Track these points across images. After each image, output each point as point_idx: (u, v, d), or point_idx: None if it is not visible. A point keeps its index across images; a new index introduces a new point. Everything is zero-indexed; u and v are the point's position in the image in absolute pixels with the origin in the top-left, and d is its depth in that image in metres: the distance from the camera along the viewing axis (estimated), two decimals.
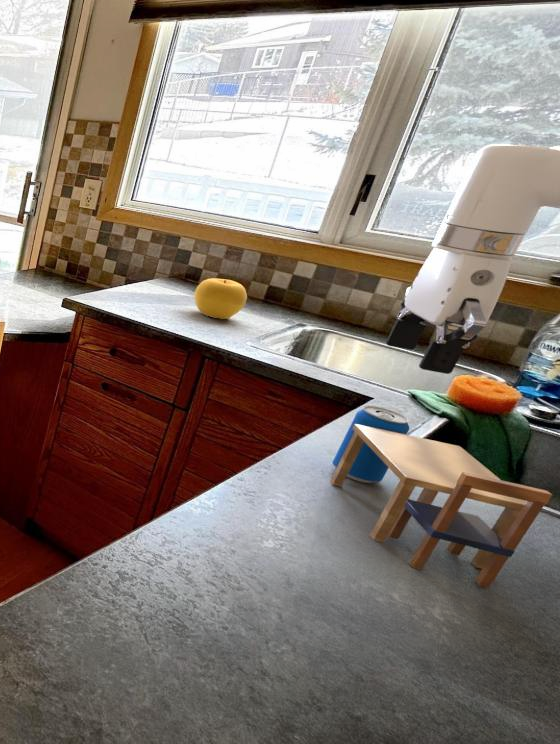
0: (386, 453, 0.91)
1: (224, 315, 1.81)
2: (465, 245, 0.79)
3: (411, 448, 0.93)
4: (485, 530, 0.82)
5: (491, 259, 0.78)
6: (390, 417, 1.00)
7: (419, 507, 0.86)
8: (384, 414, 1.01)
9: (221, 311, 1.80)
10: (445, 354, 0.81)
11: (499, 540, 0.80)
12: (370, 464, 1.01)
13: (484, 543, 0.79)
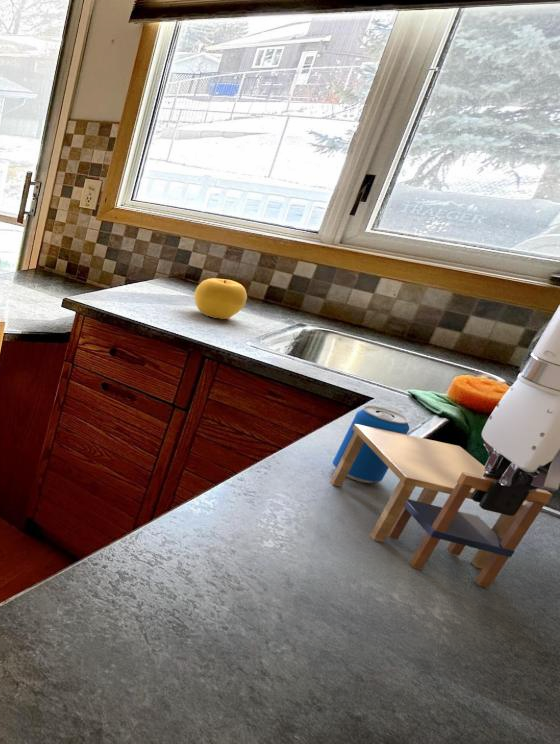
0: (386, 453, 0.91)
1: (224, 315, 1.81)
2: None
3: (411, 448, 0.93)
4: (485, 530, 0.82)
5: None
6: (390, 417, 1.00)
7: (419, 507, 0.86)
8: (384, 414, 1.01)
9: (221, 311, 1.80)
10: (510, 497, 0.76)
11: (499, 540, 0.80)
12: (370, 464, 1.01)
13: (484, 543, 0.79)
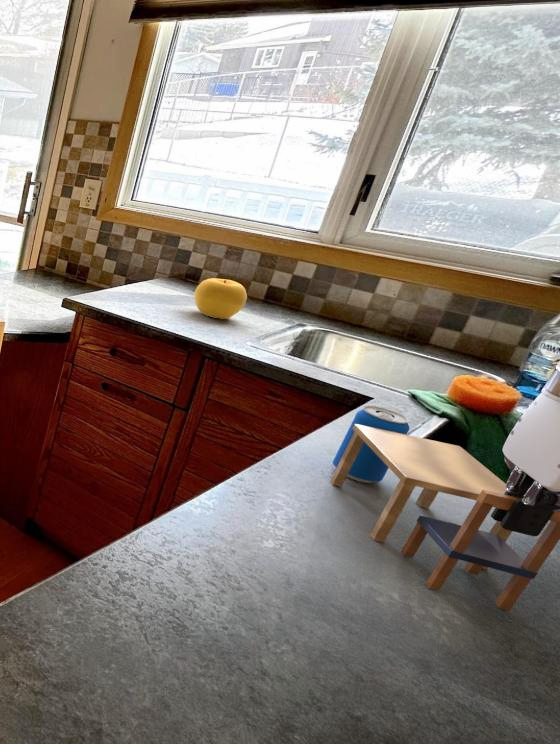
0: (386, 453, 0.91)
1: (224, 315, 1.81)
2: None
3: (411, 448, 0.93)
4: (506, 550, 0.78)
5: None
6: (390, 417, 1.00)
7: (435, 524, 0.82)
8: (384, 414, 1.01)
9: (221, 311, 1.80)
10: (533, 516, 0.72)
11: (521, 561, 0.76)
12: (370, 464, 1.01)
13: (505, 564, 0.76)
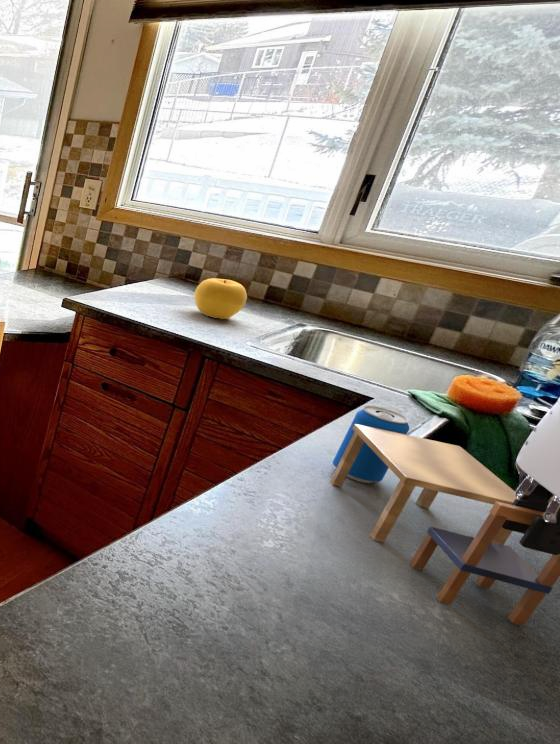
0: (386, 453, 0.91)
1: (224, 315, 1.81)
2: None
3: (411, 448, 0.93)
4: (519, 563, 0.76)
5: None
6: (390, 417, 1.00)
7: (446, 536, 0.80)
8: (384, 414, 1.01)
9: (221, 311, 1.80)
10: (554, 534, 0.69)
11: (535, 575, 0.74)
12: (370, 464, 1.01)
13: (519, 578, 0.73)
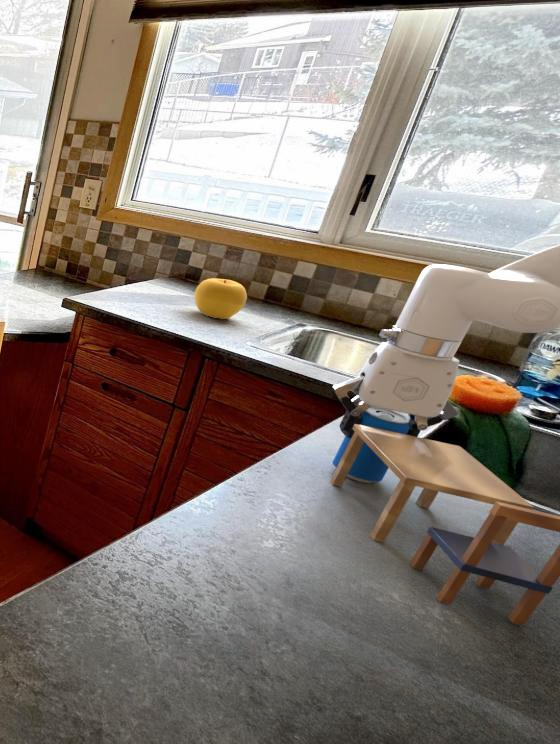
0: (386, 453, 0.91)
1: (224, 315, 1.81)
2: None
3: (411, 448, 0.93)
4: (519, 563, 0.76)
5: (384, 346, 0.98)
6: (390, 417, 1.00)
7: (446, 536, 0.80)
8: (384, 414, 1.01)
9: (221, 311, 1.80)
10: (345, 418, 1.04)
11: (535, 575, 0.74)
12: (370, 464, 1.01)
13: (519, 578, 0.73)
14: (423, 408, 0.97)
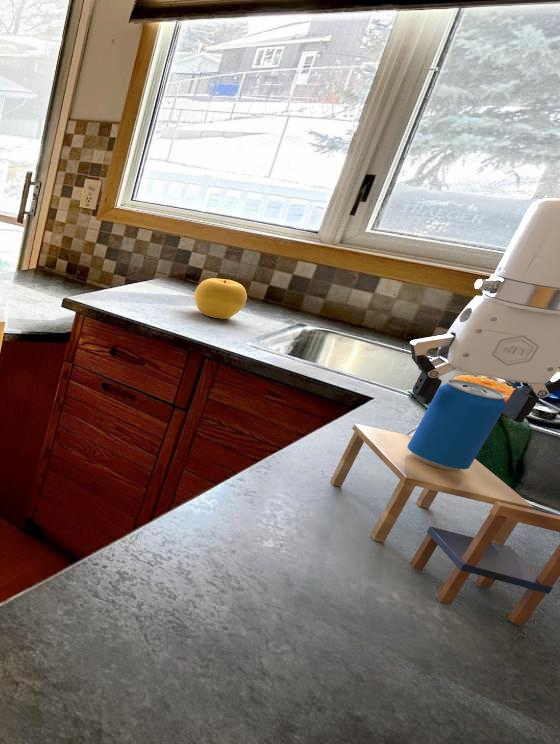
0: (386, 453, 0.91)
1: (224, 315, 1.81)
2: None
3: None
4: (519, 563, 0.76)
5: None
6: (482, 392, 0.84)
7: (446, 536, 0.80)
8: (474, 389, 0.85)
9: (221, 311, 1.80)
10: (420, 381, 0.88)
11: (535, 575, 0.74)
12: (457, 448, 0.85)
13: (519, 578, 0.73)
14: (530, 373, 0.80)
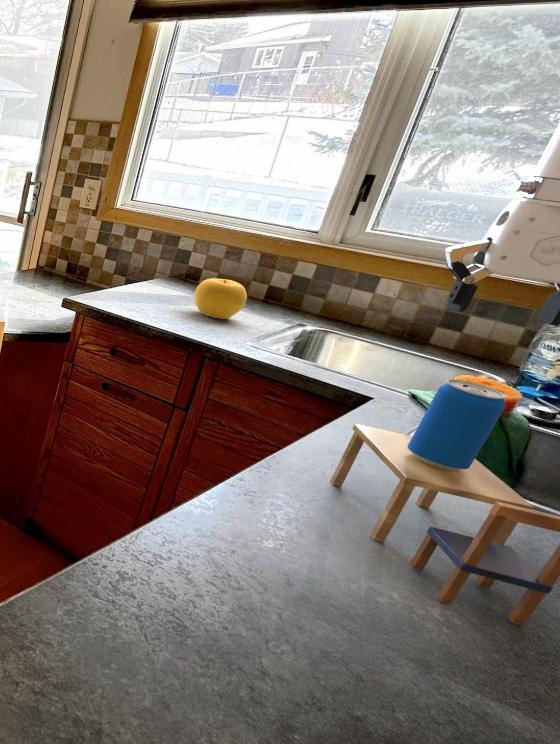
0: (386, 453, 0.91)
1: (224, 315, 1.81)
2: None
3: None
4: (519, 563, 0.76)
5: (517, 201, 0.82)
6: (482, 392, 0.84)
7: (446, 536, 0.80)
8: (474, 389, 0.85)
9: (221, 311, 1.80)
10: (455, 289, 0.88)
11: (535, 575, 0.74)
12: (457, 448, 0.85)
13: (519, 578, 0.73)
14: None
